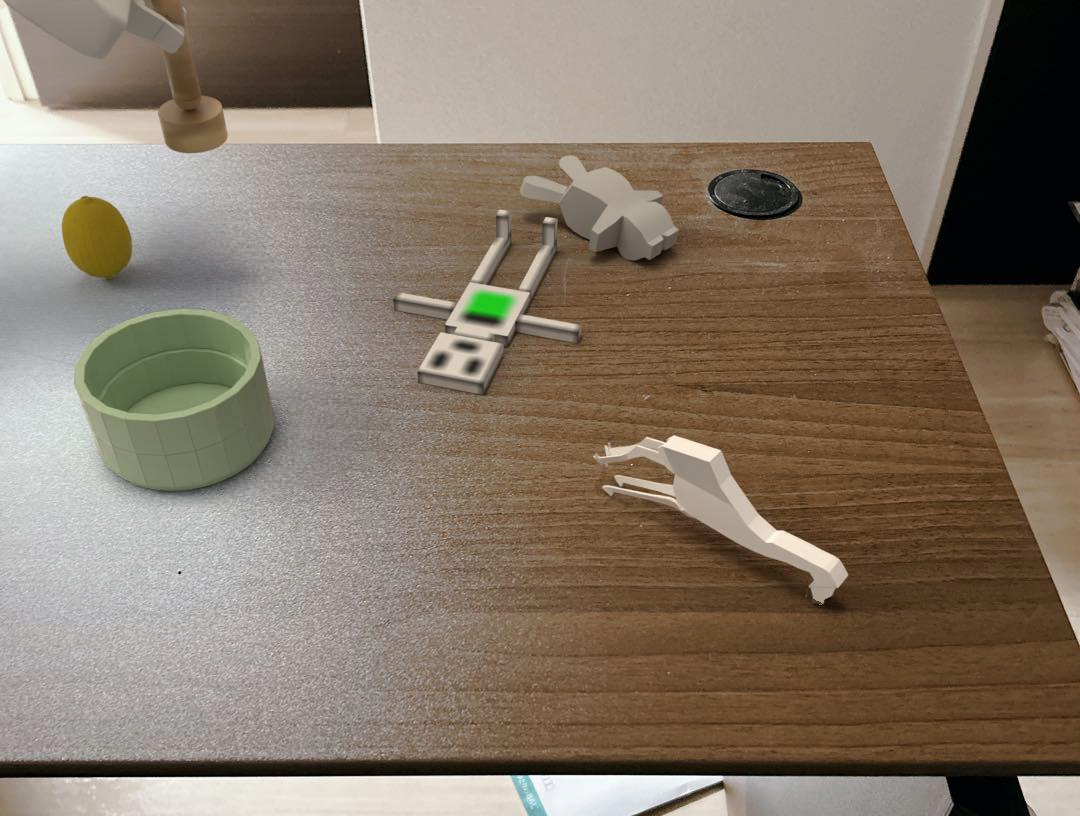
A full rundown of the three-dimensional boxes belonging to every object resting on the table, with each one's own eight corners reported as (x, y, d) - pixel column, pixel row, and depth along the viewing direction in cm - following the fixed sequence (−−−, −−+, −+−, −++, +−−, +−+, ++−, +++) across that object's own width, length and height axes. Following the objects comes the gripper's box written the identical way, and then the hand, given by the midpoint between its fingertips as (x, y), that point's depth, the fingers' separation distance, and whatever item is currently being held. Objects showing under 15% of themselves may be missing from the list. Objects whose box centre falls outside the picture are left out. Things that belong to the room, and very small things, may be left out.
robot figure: (444, 231, 107) (354, 370, 92) (442, 200, 104) (350, 336, 90) (614, 260, 104) (549, 407, 89) (616, 228, 101) (550, 374, 87)
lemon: (67, 276, 101) (39, 194, 95) (124, 254, 103) (101, 173, 98) (94, 303, 98) (67, 221, 92) (152, 281, 101) (130, 199, 95)
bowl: (75, 488, 82) (46, 414, 77) (132, 377, 91) (109, 304, 86) (251, 498, 82) (233, 425, 77) (291, 386, 91) (278, 313, 85)
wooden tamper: (157, 152, 90) (103, -60, 79) (175, 123, 93) (126, -84, 82) (219, 154, 90) (174, -57, 78) (234, 125, 93) (194, -82, 82)
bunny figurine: (635, 243, 98) (511, 165, 104) (626, 290, 102) (507, 213, 108) (701, 202, 103) (579, 130, 109) (690, 249, 107) (573, 177, 113)
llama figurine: (625, 566, 86) (841, 612, 74) (585, 438, 80) (811, 466, 68) (639, 552, 87) (854, 595, 75) (600, 425, 81) (825, 450, 69)
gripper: (1, -114, 86) (164, 11, 94) (-45, -10, 72) (150, 125, 80) (44, -184, 83) (208, -49, 91) (5, -91, 69) (201, 58, 77)
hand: (181, 33), depth 86 cm, fingers closed on wooden tamper, 2 cm apart
